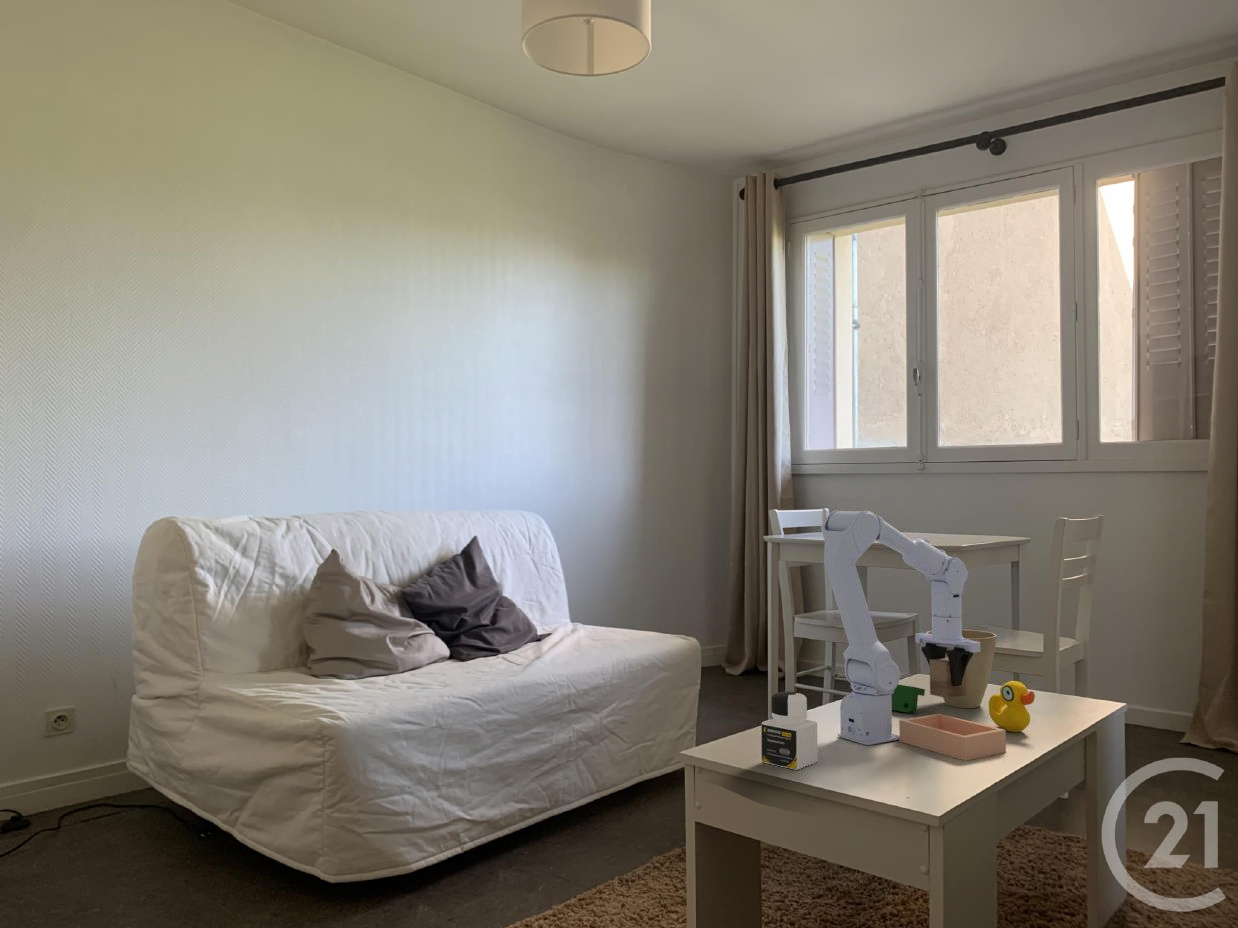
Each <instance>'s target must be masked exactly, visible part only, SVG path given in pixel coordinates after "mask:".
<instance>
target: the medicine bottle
mask: <svg viewBox="0 0 1238 928" xmlns="http://www.w3.org/2000/svg"><path fill="white" fill-rule="evenodd" d="M807 703H808V700H807V696H806V695H804V694H802V693H800V692H795V691H779V692H777V693H774V694H773V695H772V696H771V719H769V720H765V721H762V722H761V724H760V725H761V763H762V762H764V763H769V764H772V765H771V766H773V765H777V766H783V767H785V768H784V769H786V768H790V769H794V770H793V771H795V770H797V771H799V770H802V769H804V768H806V767H805V766H807V767H809V766H811V764H812V765H814V764H817V763H818V760H819V759H818V722H817V721H815V720H809V719H807V718H808V704H807ZM816 762H817V763H816ZM764 763H763V764H764ZM808 765H809V766H808ZM777 766H776V767H777ZM803 767H804V768H803ZM801 768H802V769H801ZM790 769H789V770H790ZM798 769H799V770H798Z"/></svg>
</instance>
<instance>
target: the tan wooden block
mask: <svg viewBox="0 0 1238 928" xmlns="http://www.w3.org/2000/svg"><path fill="white" fill-rule="evenodd" d="M929 695H932V696H936V697H938V698H939V697H940V698H950V697H957V696H964V695H967V691H966V670H965V673H964V676H963V680H962V685H961V686H952V683H951V669H950V663H949V659H948V657H947V658H938V659H930V666H929Z"/></svg>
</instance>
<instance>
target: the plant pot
mask: <svg viewBox="0 0 1238 928" xmlns="http://www.w3.org/2000/svg"><path fill="white" fill-rule="evenodd" d="M925 633H926V634H932V629H931V630H929V631H928V630H927V631H926V632H925ZM962 637H963V638H965V639H969V640H972V641H977V642H980V652H974V653H973V656H972V657H971V659H970V661H969V663H968V665H967V667H966V691H967V695H964V696H957V697H950V698H943V697H942V698H943V702H944V703H945V705H946V706H949V707H953V708H957V709H959V708H960V709H976V708H979V707H980V706H981V704H982V702H983V699H984V697H985V693H986V690H987V687H988V684H989V679H990V676H991V672H992V668H993V664H994V657H995V649H996V643H997V642H996V641H997V634H995V633H993V632H989V631H985V630H984V631H982V630H978V629H977V630H975V629H962ZM942 644H943V643H942ZM948 645H952V644H948ZM948 650H954V648H947V651H948ZM947 657H948V656H947V653H946V655H945V658H947Z"/></svg>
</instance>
